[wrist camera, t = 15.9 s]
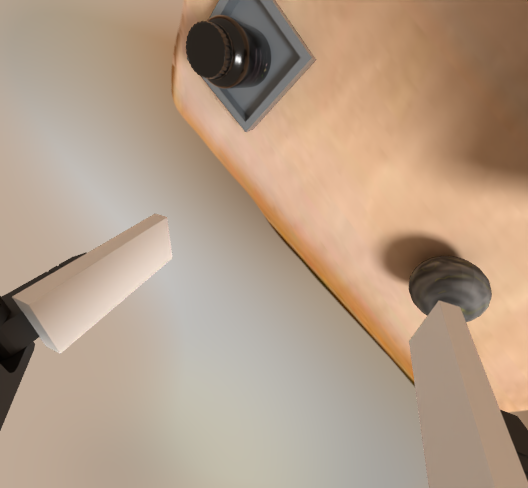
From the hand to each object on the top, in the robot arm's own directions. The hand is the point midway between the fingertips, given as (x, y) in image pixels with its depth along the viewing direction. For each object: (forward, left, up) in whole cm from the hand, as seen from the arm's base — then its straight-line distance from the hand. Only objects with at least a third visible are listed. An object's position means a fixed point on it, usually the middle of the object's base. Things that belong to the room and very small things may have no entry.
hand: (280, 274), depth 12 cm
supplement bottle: (+3, -18, -31) cm, 36 cm away
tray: (+3, -18, -32) cm, 37 cm away
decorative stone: (-1, +26, -32) cm, 41 cm away
